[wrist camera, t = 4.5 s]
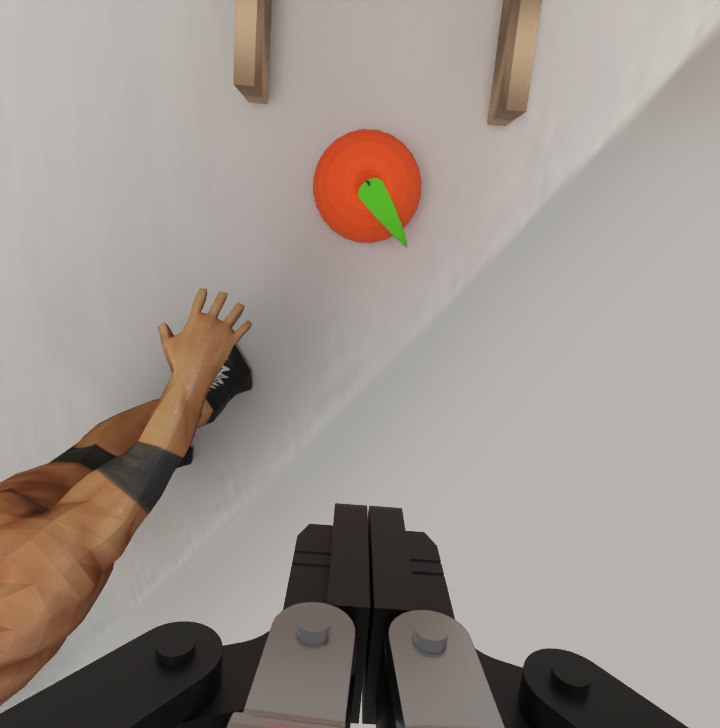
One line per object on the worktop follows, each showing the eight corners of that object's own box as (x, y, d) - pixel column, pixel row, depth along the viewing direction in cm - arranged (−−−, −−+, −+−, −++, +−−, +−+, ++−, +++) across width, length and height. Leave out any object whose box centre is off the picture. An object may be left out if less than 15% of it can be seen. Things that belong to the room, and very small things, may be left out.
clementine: (443, 216, 40) (460, 214, 33) (362, 272, 41) (363, 282, 34) (379, 116, 39) (384, 92, 32) (296, 177, 40) (284, 167, 33)
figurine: (253, 243, 41) (-11, 291, 11) (322, 299, 42) (241, 476, 12) (68, 486, 45) (-463, 968, 16) (134, 532, 46) (-250, 1064, 17)
